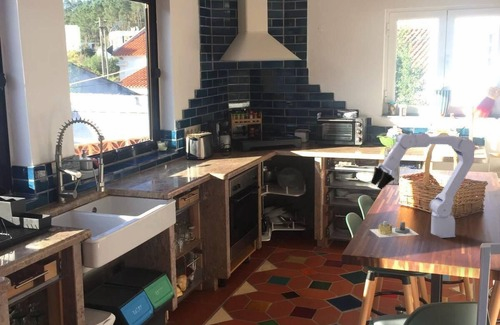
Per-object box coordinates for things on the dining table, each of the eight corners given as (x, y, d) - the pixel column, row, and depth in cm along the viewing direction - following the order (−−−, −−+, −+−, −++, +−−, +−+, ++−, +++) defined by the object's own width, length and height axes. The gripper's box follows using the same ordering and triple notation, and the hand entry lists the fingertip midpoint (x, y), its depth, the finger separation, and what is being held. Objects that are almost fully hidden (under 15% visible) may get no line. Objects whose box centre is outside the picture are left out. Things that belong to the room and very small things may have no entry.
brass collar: (388, 230, 250) (388, 222, 249) (393, 234, 245) (393, 226, 244) (377, 231, 249) (377, 223, 249) (381, 234, 244) (381, 227, 243)
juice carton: (398, 182, 355) (399, 144, 351) (399, 184, 347) (400, 146, 343) (383, 182, 357) (384, 144, 352) (384, 184, 349) (384, 146, 345)
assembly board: (407, 229, 255) (407, 216, 254) (418, 236, 243) (419, 223, 242) (369, 231, 252) (369, 218, 251) (379, 239, 241) (379, 226, 240)
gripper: (379, 151, 243) (363, 177, 245) (392, 158, 229) (374, 186, 231) (392, 158, 245) (375, 185, 247) (405, 166, 231) (388, 193, 233)
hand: (376, 186), depth 239 cm, fingers open, 7 cm apart
